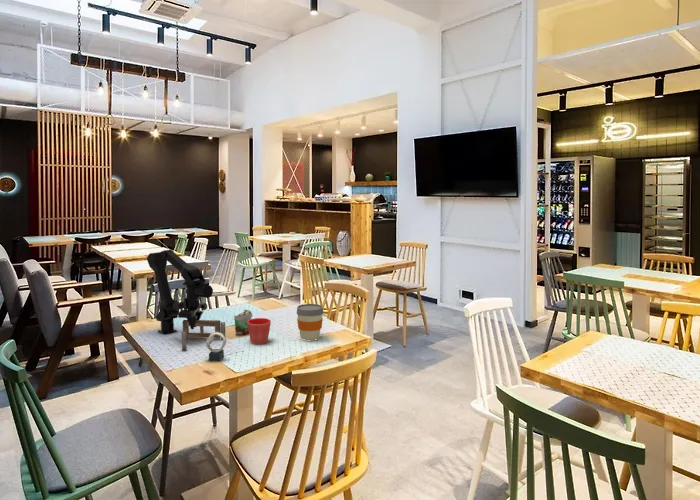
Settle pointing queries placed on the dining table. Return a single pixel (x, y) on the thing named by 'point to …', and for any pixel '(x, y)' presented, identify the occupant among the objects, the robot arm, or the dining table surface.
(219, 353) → the ring on dark base
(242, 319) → the food container
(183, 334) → the grey piece
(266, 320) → the flower pot
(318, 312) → the reusable coffee cup
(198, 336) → the wooden frame
